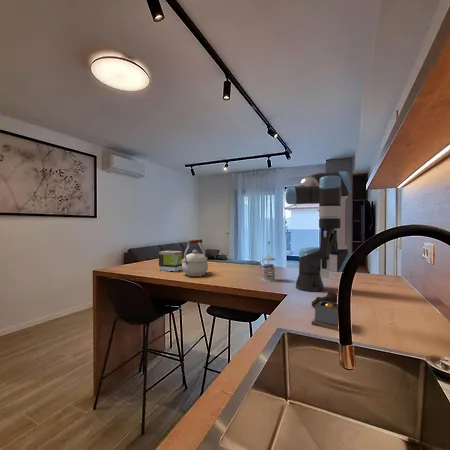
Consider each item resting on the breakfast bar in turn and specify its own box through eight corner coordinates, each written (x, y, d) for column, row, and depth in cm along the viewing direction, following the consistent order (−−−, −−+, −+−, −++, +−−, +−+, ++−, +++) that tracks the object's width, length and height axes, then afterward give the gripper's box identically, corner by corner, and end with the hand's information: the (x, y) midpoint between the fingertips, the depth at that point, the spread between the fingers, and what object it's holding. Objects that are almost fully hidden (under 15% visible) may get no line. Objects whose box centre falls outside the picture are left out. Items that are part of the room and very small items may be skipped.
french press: (271, 282, 164) (272, 242, 164) (255, 279, 171) (255, 241, 171) (278, 279, 172) (279, 241, 171) (263, 277, 179) (263, 240, 178)
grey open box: (320, 315, 105) (320, 300, 105) (342, 319, 101) (342, 303, 101) (314, 321, 99) (315, 305, 98) (337, 326, 94) (338, 309, 94)
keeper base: (318, 316, 107) (318, 313, 107) (345, 321, 101) (345, 319, 101) (311, 324, 98) (311, 321, 98) (340, 330, 93) (340, 328, 93)
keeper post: (325, 318, 102) (325, 301, 102) (334, 320, 100) (334, 302, 100) (323, 320, 99) (323, 303, 99) (332, 322, 97) (332, 305, 97)
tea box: (182, 270, 204) (182, 251, 204) (174, 272, 195) (174, 252, 195) (166, 268, 210) (166, 250, 210) (158, 270, 201) (158, 251, 201)
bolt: (312, 312, 116) (331, 304, 125) (321, 309, 113) (340, 302, 122) (306, 299, 119) (326, 293, 127) (315, 296, 115) (334, 289, 124)
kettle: (195, 279, 173) (195, 241, 172) (174, 276, 183) (174, 240, 182) (216, 272, 194) (216, 238, 193) (197, 270, 204) (197, 238, 203)
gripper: (327, 217, 111) (326, 268, 112) (309, 217, 91) (309, 279, 91) (346, 217, 107) (345, 270, 108) (332, 217, 86) (332, 282, 87)
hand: (329, 274), depth 99 cm, fingers open, 13 cm apart
